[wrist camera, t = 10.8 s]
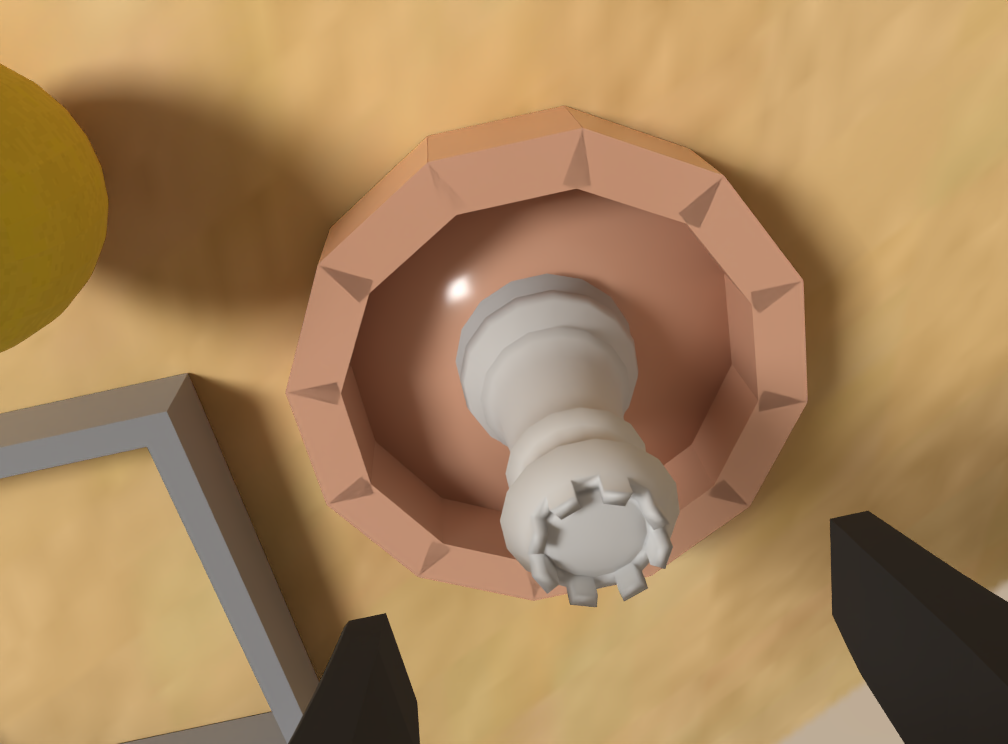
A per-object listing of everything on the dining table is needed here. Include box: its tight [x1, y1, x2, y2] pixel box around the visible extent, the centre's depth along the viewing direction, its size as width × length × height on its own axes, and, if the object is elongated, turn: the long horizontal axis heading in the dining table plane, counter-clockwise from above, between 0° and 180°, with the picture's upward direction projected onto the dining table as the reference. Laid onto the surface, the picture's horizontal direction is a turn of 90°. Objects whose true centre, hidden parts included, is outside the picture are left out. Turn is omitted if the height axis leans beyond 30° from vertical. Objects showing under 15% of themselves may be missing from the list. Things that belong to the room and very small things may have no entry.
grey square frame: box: [0, 373, 319, 744], centre depth 24 cm, size 13×13×2 cm
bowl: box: [286, 106, 808, 601], centre depth 21 cm, size 12×12×3 cm
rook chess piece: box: [455, 274, 680, 607], centre depth 18 cm, size 4×4×8 cm
